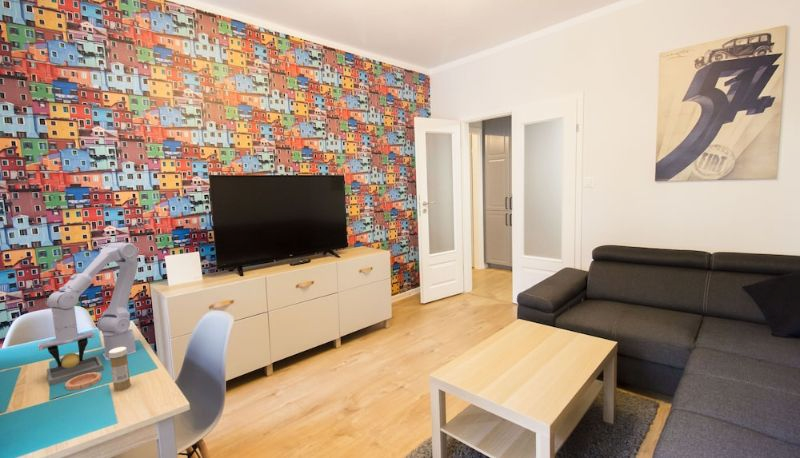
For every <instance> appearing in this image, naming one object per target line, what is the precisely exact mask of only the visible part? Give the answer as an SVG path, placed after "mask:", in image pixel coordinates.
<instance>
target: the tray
mask: <svg viewBox="0 0 800 458" xmlns="http://www.w3.org/2000/svg"><path fill="white" fill-rule="evenodd" d="M103 371H105V370H104V365H103V363H102V361H101V359H100V357H99V355H94V356H91V357H86V358H83V361H79V363H78V364H77V365H76V366H75V367H73V368H64V367H62V365H61V367H58V365H55V366H52V367H50V368H46V373H47V378H48V385H49V387H51V386H54V385H58V384H61V383H66V382H67V381H68V380H70V379H72V378H74V377H76V376H79V375H82V374H86V373H93V372H97V373H100V372H103Z"/></svg>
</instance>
